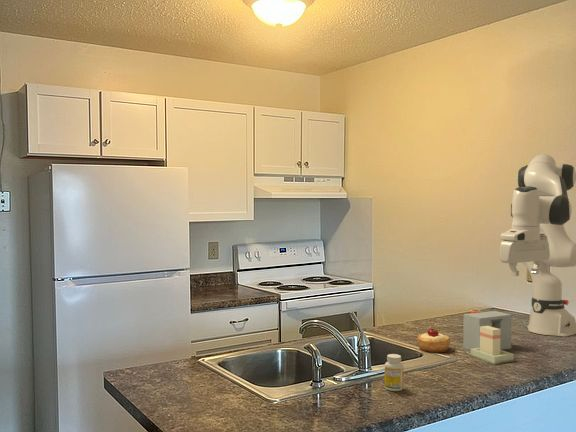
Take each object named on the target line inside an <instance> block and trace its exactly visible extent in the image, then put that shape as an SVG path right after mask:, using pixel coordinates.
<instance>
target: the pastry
mask: <svg viewBox="0 0 576 432" xmlns="http://www.w3.org/2000/svg"><path fill="white" fill-rule="evenodd" d="M436 328H440V329H441V331H442V332H444V330H443V328H442V327H441V326H439V325H436V326H434V328H429V329H427V332H424V333H421V334H418V336H417V346H418V347H419V349H420V350H421V351H424V352H427V351H428V352H429V353H446V352H447V351H448V349H449V347H450V344H451V338H450V337H449V335H447V334H443V333H439V331H438V330H437V329H436ZM428 352H427V353H428Z"/></svg>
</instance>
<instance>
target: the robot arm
mask: <svg viewBox="0 0 576 432" xmlns="http://www.w3.org/2000/svg"><path fill="white" fill-rule="evenodd" d="M516 182H517V186H518V187H516V188H514V190H513V194H512V199H511V200H512V201H511V204H510V217H512V223H511V228H510V229H507V231H504V232H501V234H500V237H499V239H500V240H501V242H500V245H499V260H500V261H501V263H503V264H508V267H509V269H510V270H511V276H512V277H518V276H519V275H520V271H519V270H518V269H517V266H518V263H519V264H520V263H522V264H523V265H524V266H525V267H526V269H527V270H528V272H529V275H530V278H531V281H532V284H531V285H532V297H531V302H530V303H531V309H530V312H529V313H530V314H529V323H528V324H527V325H526V326H527V330H528V331H529V332H531V333H534V334H537V335H545V336H557V337H564V338H565V337H566V338H567V337H570V336H572V335H573V336H574V335H576V318H575V316H574V315H572V314H571V313H570V312H569V311H568V310H567V309H566V308H565V305H566V306H569V303H570V301H569V300H568V299H562V295H563V294H562V289H563V287H562V286H563V285H562V284H563V283H562V280H560V278H559V277H558V276H556V275H555V274H552V272H551V271H550V269H549V267H552V268H553V267H554V268H555V267H556V268H573V267H575V266H576V243H575V242H574V241H573V240H572V239H571V238H570V236H568V234H567V231H566V230H565V224H566V223H568V222H569V221H570V219H571V217H572V204H571V202H570V199H569V197H568V191H570V190H572V189H573V187H575V184H576V169H575V166H573V165H571V164H569V163H568V164H566V163H563V164H558V163H556V160H555V158H554V157H553V156H551V155H549V154H545V153H541V154H537V155H535V156H534V157H533V158H532V159H531V160H530V162H529V164H526V165H524V166H522V167H521V168H519V169H518V172H517V174H516ZM541 232H542V233H541Z"/></svg>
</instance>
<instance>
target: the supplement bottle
mask: <svg viewBox="0 0 576 432" xmlns="http://www.w3.org/2000/svg"><path fill="white" fill-rule="evenodd" d="M386 360H387V361H385V363H384V389H385V390H387V391H390V392H401V391H402V390H403V389H404V364H403V363H402V356H401V355H400V354H396V353H390V354H387V356H386Z"/></svg>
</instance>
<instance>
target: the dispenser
mask: <svg viewBox="0 0 576 432" xmlns="http://www.w3.org/2000/svg"><path fill="white" fill-rule="evenodd" d="M512 316H513V315H512V314H510V313H506V312H501V311H497V310H492V311H490V310H489V311H481V312H480V313H471V312H470V313H464V314H463V324H462V325H463V328H462V329H463V331H462V332H463V334H462V335H463V338H462V339H463V341H462V343H463V344H462V348H463V349H465V350H468V351H471V349H474V348H480V326H491V327H494V328H498V329H501V333H500V335H501V338H500V350H503V351H505V350H509V349H512V321H513V319H512Z"/></svg>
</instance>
